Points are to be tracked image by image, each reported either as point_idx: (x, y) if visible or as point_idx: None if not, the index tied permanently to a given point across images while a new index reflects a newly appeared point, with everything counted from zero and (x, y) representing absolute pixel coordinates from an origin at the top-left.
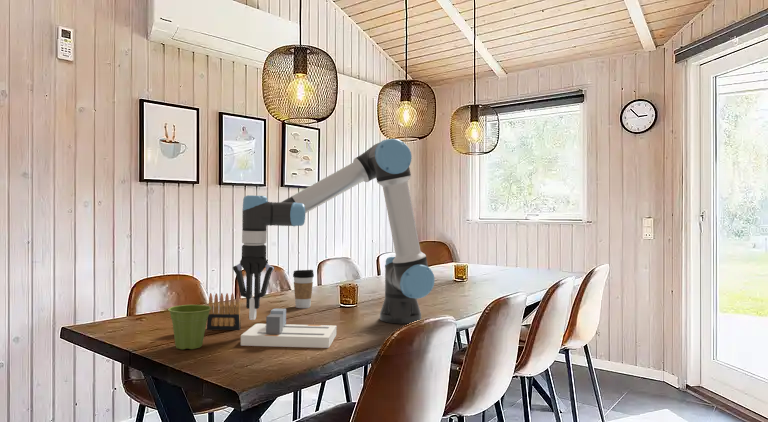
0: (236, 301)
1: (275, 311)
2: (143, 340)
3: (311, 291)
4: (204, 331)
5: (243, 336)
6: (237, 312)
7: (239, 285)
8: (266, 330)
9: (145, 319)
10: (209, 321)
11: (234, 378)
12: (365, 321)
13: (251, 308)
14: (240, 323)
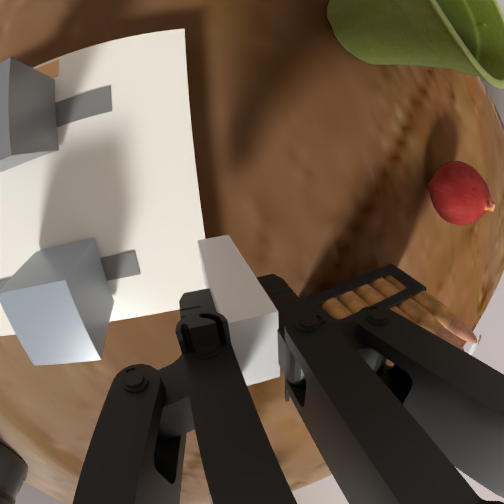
0: None
1: (36, 284)
2: (468, 116)
3: None
4: (353, 2)
5: (169, 32)
6: None
7: (470, 365)
8: (46, 77)
9: (479, 297)
10: (404, 278)
11: None
12: (21, 443)
13: (229, 269)
14: None
